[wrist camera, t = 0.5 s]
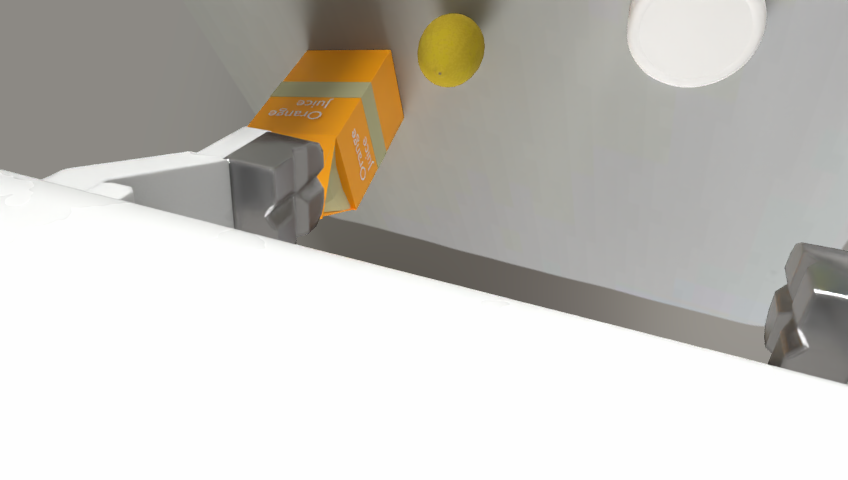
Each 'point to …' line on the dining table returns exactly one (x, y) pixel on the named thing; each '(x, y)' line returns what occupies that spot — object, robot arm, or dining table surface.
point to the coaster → (694, 38)
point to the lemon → (450, 50)
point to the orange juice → (339, 117)
